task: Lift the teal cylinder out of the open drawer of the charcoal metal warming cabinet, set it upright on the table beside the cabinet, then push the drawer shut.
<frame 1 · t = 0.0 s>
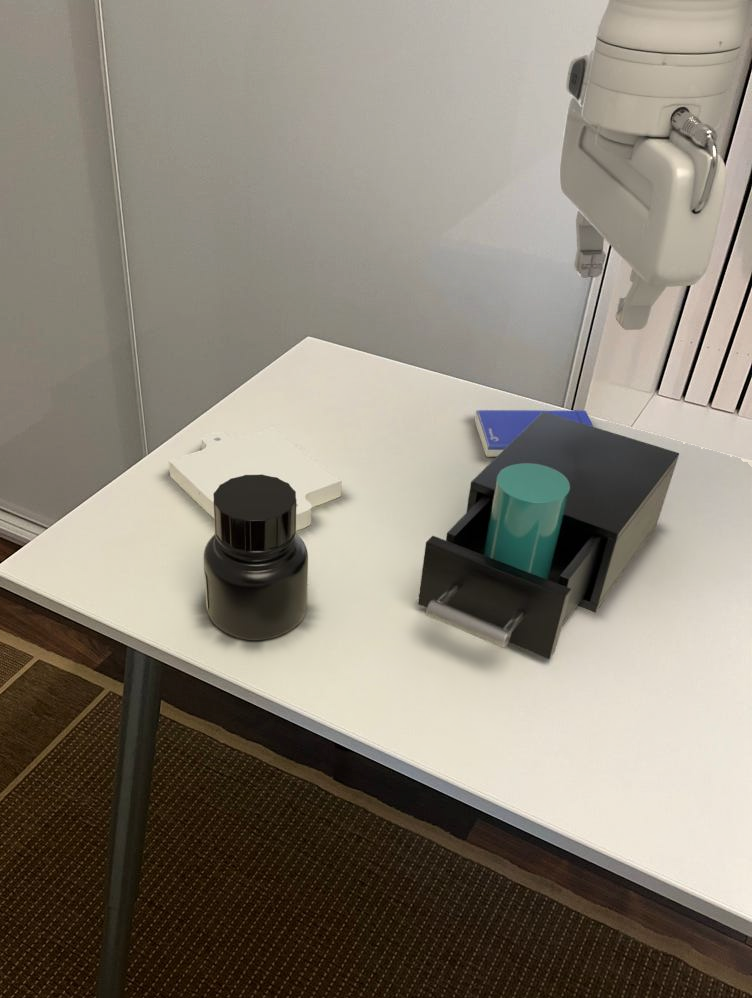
hand: (607, 298, 73), 26 cm above the table, tool pointing down, fingers open, 8 cm apart
drawer: (513, 569, 84), point 4 cm above the table, slide at 8.0 cm, touching teal cylinder
teal cylinder: (511, 588, 86), point 2 cm above the table, touching drawer
mounting plate: (254, 488, 102), on the table
ink bottle: (256, 611, 87), on the table
cabinet: (558, 543, 94), on the table
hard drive: (535, 440, 109), on the table
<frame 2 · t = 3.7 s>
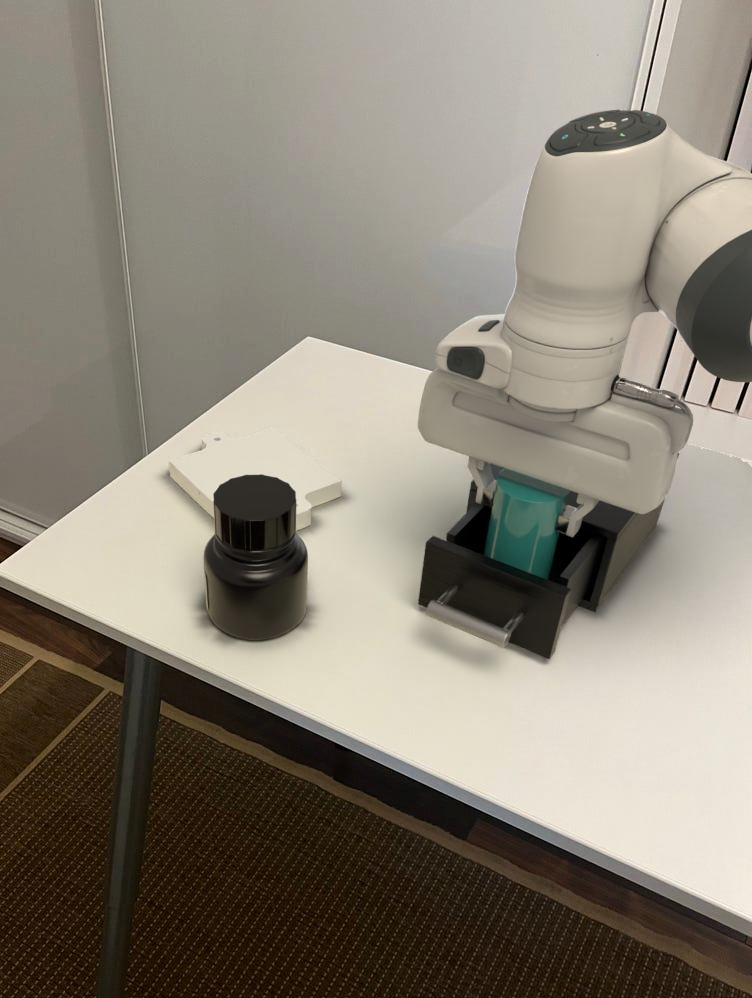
hand: (525, 516, 81), 10 cm above the table, tool pointing down, fingers closed on teal cylinder, 6 cm apart
teal cylinder: (511, 588, 86), point 2 cm above the table, touching drawer, gripper
everything else where it was.
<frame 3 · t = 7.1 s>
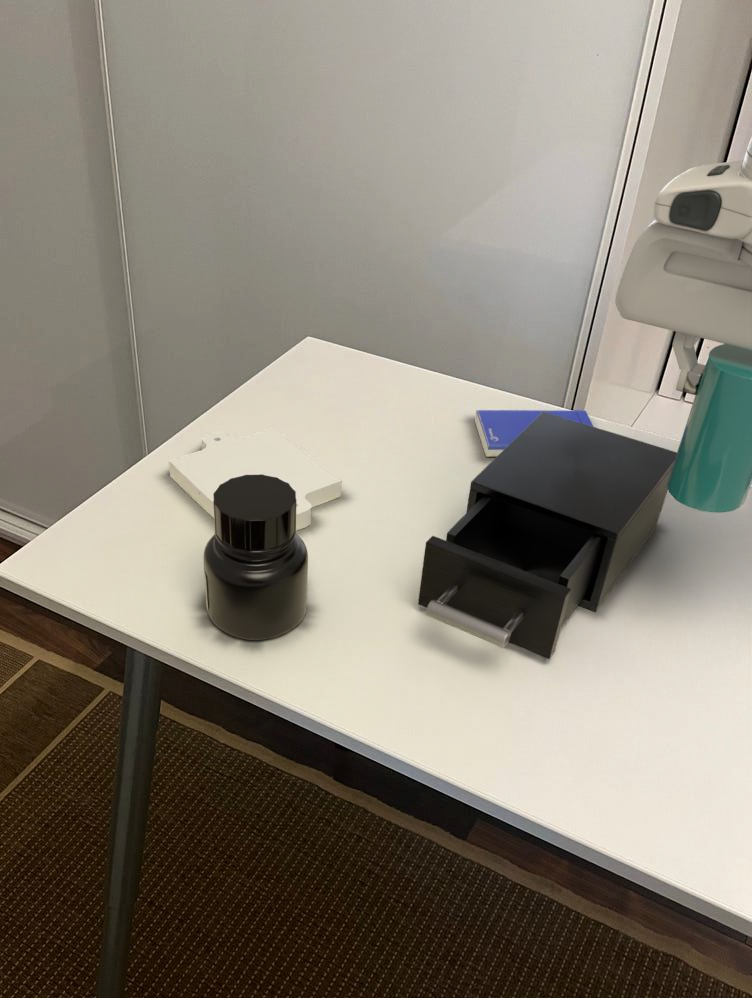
hand: (736, 403, 71), 21 cm above the table, tool pointing down, fingers closed on teal cylinder, 6 cm apart
drawer: (513, 569, 84), point 4 cm above the table, slide at 8.0 cm
teal cylinder: (705, 491, 76), point 14 cm above the table, touching gripper
everything else where it was.
when the fingers open (7 cm above the table, at t = 10.8 s): teal cylinder stays where it is, on the table.
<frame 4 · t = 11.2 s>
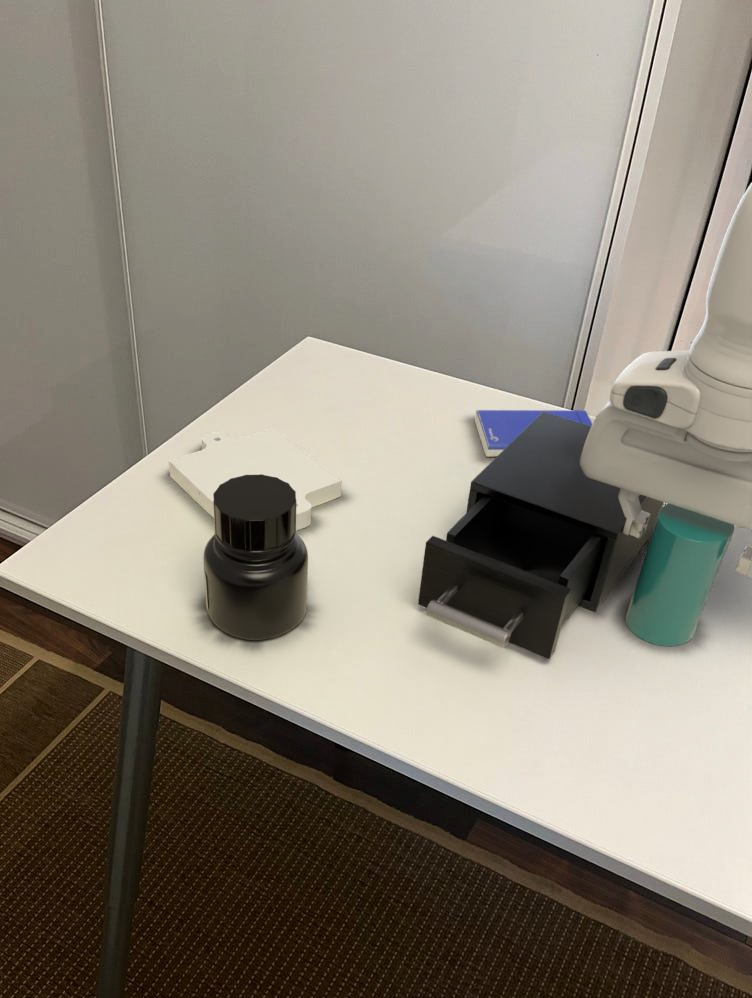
hand: (688, 552, 80), 8 cm above the table, tool pointing down, fingers open, 8 cm apart
teal cylinder: (659, 624, 85), on the table
everything else where it was.
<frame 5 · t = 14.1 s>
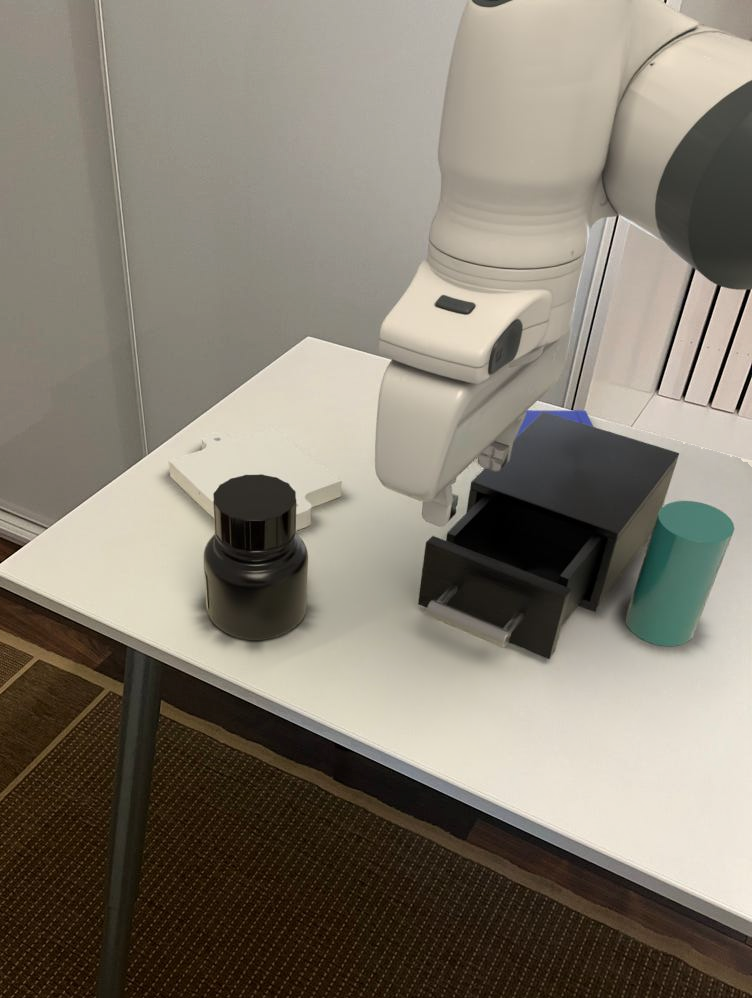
hand: (466, 491, 66), 19 cm above the table, tool pointing down, fingers open, 7 cm apart
nothing on the table moved.
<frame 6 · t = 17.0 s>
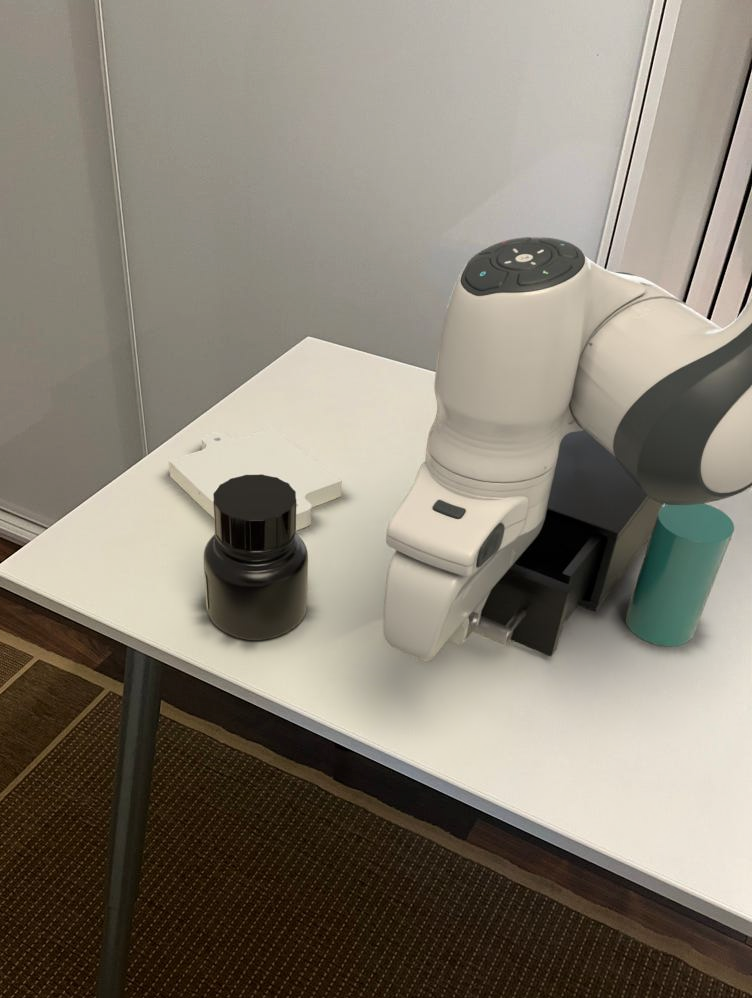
hand: (460, 632, 77), 5 cm above the table, tool pointing down, fingers closed
drawer: (515, 567, 84), point 4 cm above the table, slide at 7.6 cm, touching gripper
everything else where it was.
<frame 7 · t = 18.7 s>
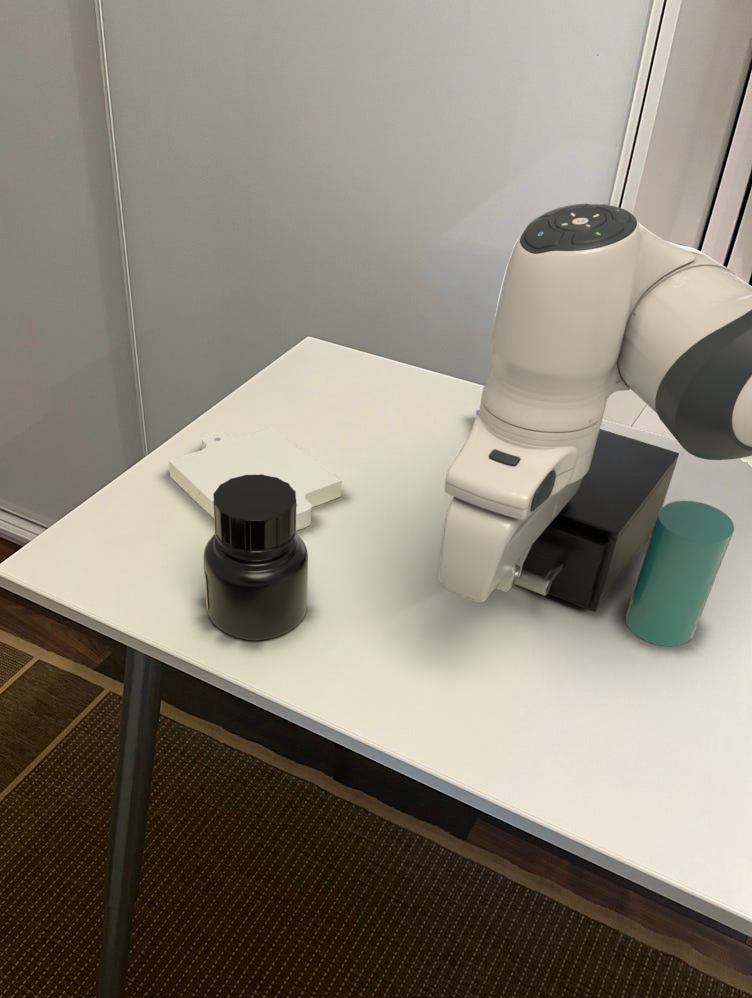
hand: (504, 582, 82), 5 cm above the table, tool pointing down, fingers closed
drawer: (551, 525, 89), point 4 cm above the table, slide at 0.0 cm, touching cabinet, gripper
everything else where it was.
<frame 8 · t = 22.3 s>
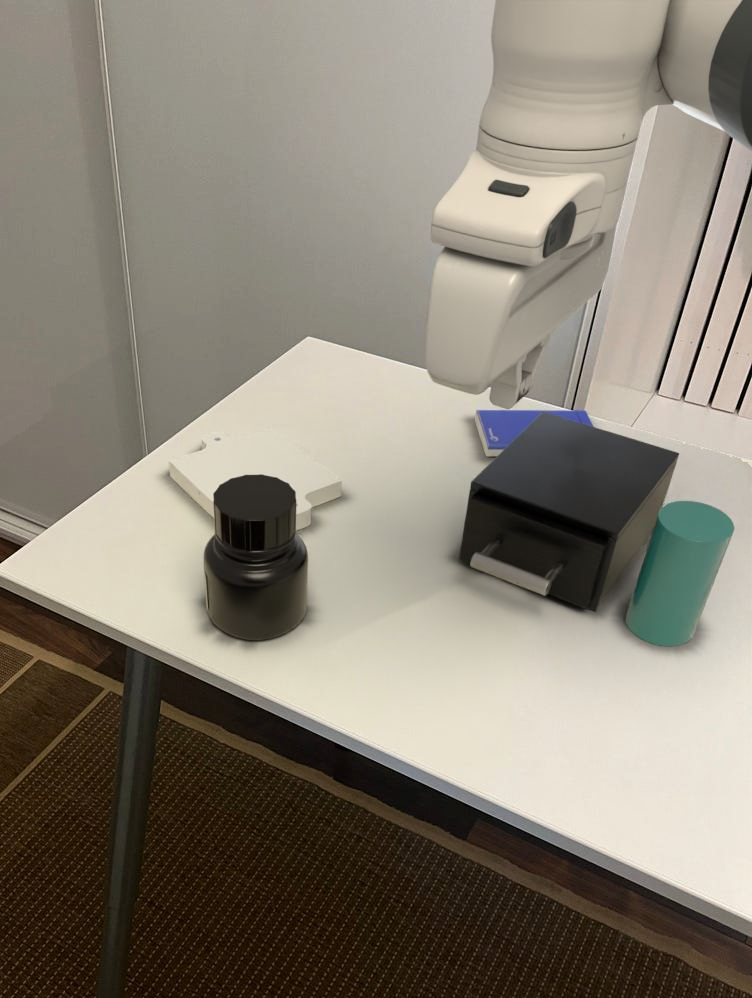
hand: (509, 398, 66), 24 cm above the table, tool pointing down, fingers closed
drawer: (551, 525, 89), point 4 cm above the table, slide at 0.0 cm
everything else where it was.
at the end: teal cylinder inside the target area (0.1 cm from its centre), on the table; teal cylinder tilted 0°; drawer slide at 0.0 cm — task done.
